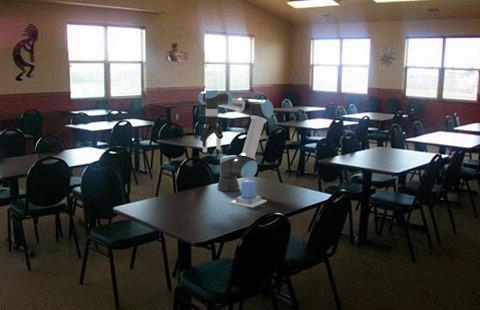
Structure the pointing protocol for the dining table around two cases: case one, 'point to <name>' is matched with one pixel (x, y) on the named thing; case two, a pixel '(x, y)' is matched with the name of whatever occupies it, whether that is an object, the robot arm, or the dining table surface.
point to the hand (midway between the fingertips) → (211, 150)
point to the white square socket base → (248, 201)
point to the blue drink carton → (248, 189)
